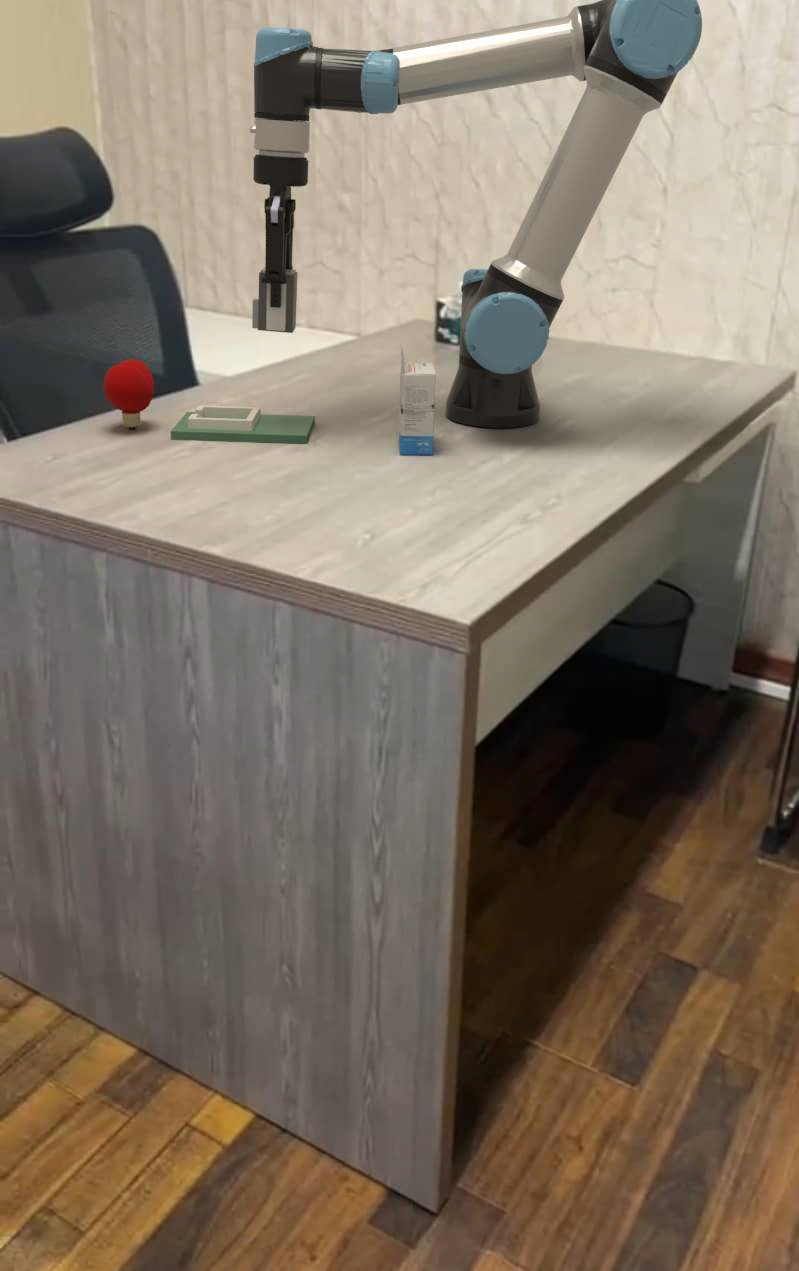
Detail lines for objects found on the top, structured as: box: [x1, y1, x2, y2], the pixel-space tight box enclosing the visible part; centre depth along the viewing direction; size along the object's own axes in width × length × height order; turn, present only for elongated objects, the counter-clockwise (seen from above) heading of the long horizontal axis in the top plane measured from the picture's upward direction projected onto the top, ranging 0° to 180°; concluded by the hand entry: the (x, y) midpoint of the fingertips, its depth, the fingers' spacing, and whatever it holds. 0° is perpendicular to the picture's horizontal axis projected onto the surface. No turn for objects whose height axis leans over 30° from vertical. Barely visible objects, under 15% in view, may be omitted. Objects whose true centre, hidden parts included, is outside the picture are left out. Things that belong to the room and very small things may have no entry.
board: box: [170, 404, 316, 445], centre depth 176 cm, size 20×12×3 cm, turn 88°
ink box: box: [397, 341, 437, 456], centre depth 167 cm, size 8×5×15 cm, turn 2°
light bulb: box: [103, 359, 155, 431], centre depth 174 cm, size 9×7×10 cm
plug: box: [251, 267, 298, 334], centre depth 168 cm, size 6×4×8 cm, turn 88°
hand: (278, 326), depth 169 cm, fingers closed on plug, 4 cm apart
